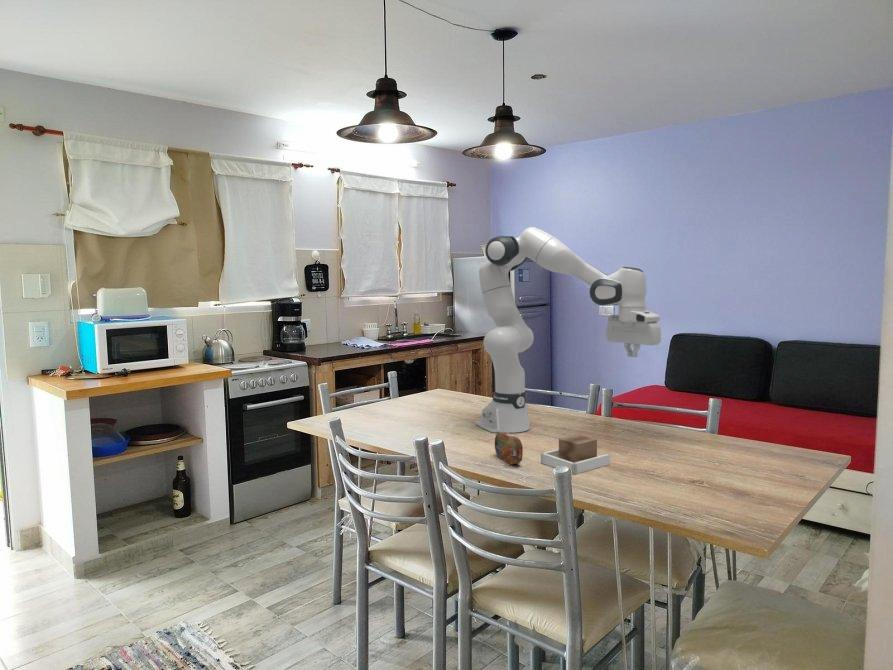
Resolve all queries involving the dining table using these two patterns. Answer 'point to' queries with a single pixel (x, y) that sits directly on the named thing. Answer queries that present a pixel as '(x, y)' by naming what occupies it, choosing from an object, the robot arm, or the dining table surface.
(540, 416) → the dining table surface
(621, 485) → the dining table surface
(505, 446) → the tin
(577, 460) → the walnut block
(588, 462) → the white u-shaped frame
